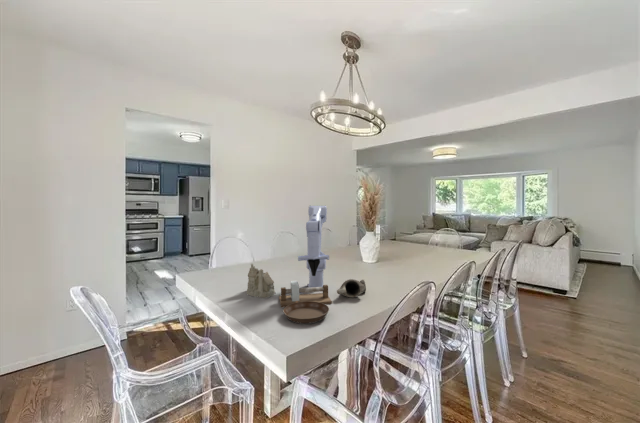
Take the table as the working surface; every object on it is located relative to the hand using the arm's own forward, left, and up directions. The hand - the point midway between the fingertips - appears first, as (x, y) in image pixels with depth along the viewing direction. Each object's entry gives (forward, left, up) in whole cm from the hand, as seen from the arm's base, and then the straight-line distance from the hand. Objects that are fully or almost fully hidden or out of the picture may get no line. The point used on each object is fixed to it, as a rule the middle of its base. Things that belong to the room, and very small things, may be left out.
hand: (313, 275), depth 133 cm
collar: (+5, -10, -9) cm, 14 cm away
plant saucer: (+22, -7, -10) cm, 25 cm away
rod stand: (+5, -5, -10) cm, 12 cm away
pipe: (+2, +19, -10) cm, 21 cm away
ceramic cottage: (-12, -23, -10) cm, 28 cm away
